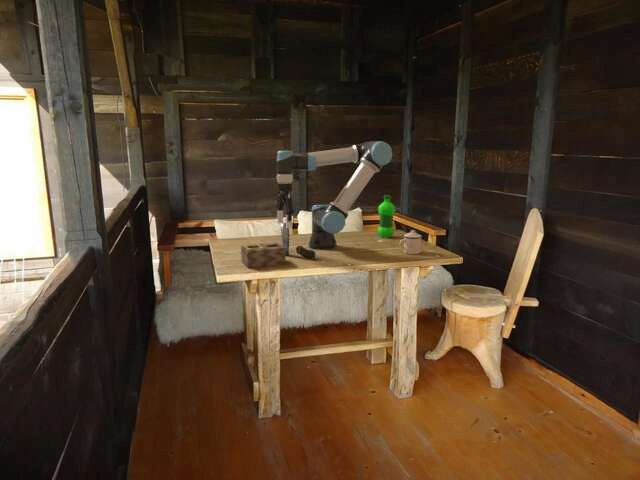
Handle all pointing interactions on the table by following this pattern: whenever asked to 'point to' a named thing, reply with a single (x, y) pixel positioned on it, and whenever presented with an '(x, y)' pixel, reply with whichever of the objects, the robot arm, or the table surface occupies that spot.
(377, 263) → the table surface
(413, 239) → the teacup with lid
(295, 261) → the table surface
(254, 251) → the hole block
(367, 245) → the table surface
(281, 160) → the robot arm
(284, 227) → the peg
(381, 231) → the plastic bottle
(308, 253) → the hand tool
